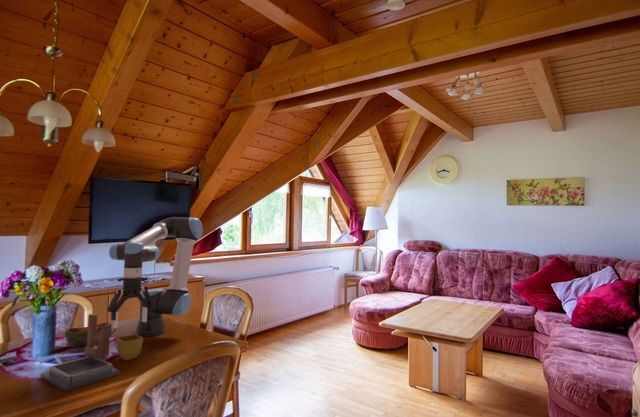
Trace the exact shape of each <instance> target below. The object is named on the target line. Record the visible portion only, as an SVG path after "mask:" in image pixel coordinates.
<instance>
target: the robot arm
mask: <svg viewBox="0 0 640 417" xmlns="http://www.w3.org/2000/svg"><path fill="white" fill-rule="evenodd" d="M203 232H204V227H203V224H202V221H201V220H200V219H199V218H197V217H191V216H190V217H187V216H185V217H184V216H182V217H180V216H179V217H178V216H172V217H167V218H165V219H162V220H160V221H158V222H156V223H154V224H152V227H151V228H149V229H147V230H145V231H142V233H140V234H138V235H135V237H132V238H131V239H129V240H127V241H125V242H123V243H122V244H121V243H114V244H112V245H111V246H110V248H109V249H108V254H109V258H110V259H112V260H116V261H124V265H123V275H122V276H123V280H122V289H121V288H120V289H119V288H116V289H115V293H114V295H113V297H112V299H111V301H110V303H109V305H108V306H107V309H106V312H109V313H110V316H111V317H110V318H111V321H112V323H113V325H111V328H114V329H115V328H117V329H118V328H119V323H118V322H119V312H118V311H119V310H120V309H121V307H122V306H123V305H124V303H125V302H126V301H128V300H129V299H133V298H134V299H135V298H137V299H138V301H139V320H138V322H137V325H136V327H135V330H134V332H135V333H134V334H137V335H139V336H140V337H152V336H153V337H155V336H159V335H162V334H164V333H165V332H166V325H165V321H164V318H163V316H164V315H170V316H183V315H185V314H187V312H188V311H189V309H190V308H191V305H192V295H191V294H190V293H189V289H188V287H187V286H188V280H189V273H190V268H191V267H190V266H191V262H192V255H193V251H194V246H195V244H197V242H198V240H199V239H201V238H202V236H203V234H204V233H203ZM166 238H175V241H176V242H177V246H176V249H175V256H174V260H173V265H172V266H173V267H172V272H171V277H170V284H169V286H168V287H167V288H165V289H164V288H152V289H148V286H147V285H142V283H143V282H142V280H143V279H142V275H143V263H146V262H153V261H156V260H158V258H159V257H160V249H159V247H158V246H157V245H153V244H155V243H156V242H158V241H160V240H164V239H166ZM141 291H142V292H141Z"/></svg>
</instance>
